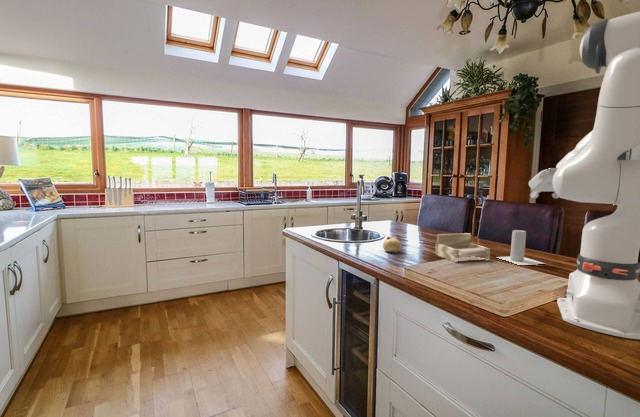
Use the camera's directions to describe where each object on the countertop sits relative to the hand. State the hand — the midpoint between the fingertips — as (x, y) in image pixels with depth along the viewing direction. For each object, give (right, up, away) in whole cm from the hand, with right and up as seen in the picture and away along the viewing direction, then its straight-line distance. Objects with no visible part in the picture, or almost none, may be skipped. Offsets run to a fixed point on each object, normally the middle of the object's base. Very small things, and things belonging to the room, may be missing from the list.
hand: (543, 196), depth 117 cm
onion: (-47, -24, +30) cm, 61 cm away
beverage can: (0, -25, +17) cm, 30 cm away
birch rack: (-20, -25, +22) cm, 39 cm away
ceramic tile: (+2, -26, +17) cm, 31 cm away
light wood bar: (-19, -25, +18) cm, 36 cm away
